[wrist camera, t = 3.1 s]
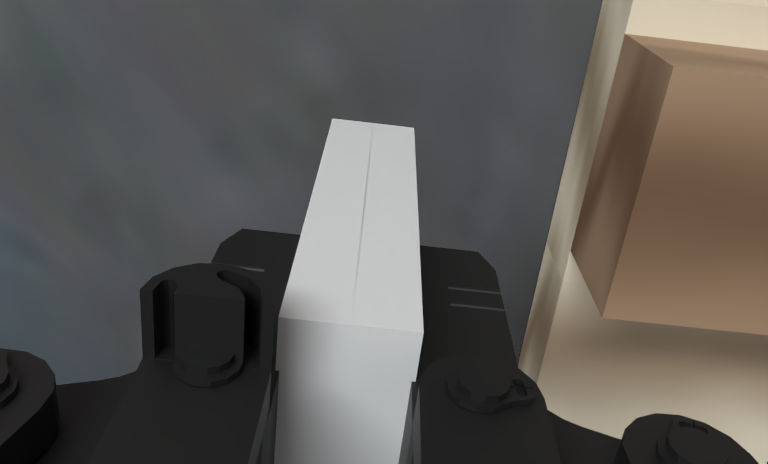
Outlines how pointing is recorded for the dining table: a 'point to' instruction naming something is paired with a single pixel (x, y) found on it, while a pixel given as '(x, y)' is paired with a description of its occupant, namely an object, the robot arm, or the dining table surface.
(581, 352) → the platform
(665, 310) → the walnut block
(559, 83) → the dining table surface
